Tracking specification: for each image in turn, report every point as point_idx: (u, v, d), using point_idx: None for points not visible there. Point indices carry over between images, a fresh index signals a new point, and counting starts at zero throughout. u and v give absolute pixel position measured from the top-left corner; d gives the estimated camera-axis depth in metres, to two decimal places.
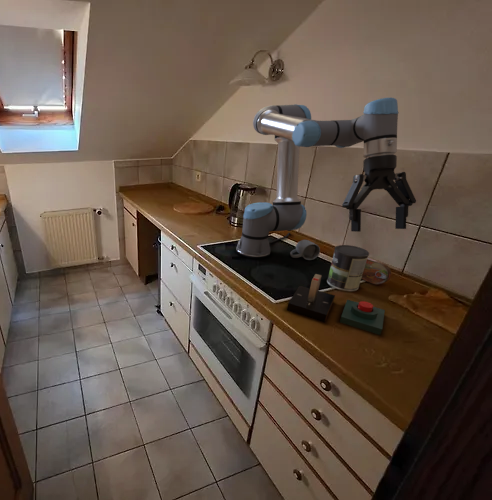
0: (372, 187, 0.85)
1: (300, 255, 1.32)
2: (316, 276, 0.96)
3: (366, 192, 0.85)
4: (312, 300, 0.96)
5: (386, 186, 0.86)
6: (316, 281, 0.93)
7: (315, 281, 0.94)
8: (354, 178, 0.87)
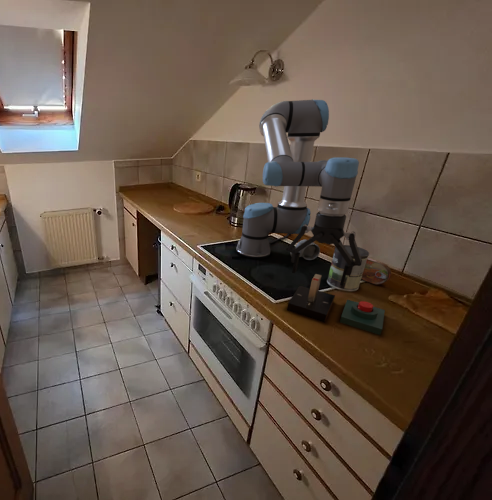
0: (311, 240, 0.91)
1: (300, 255, 1.32)
2: (316, 276, 0.96)
3: (306, 243, 0.93)
4: (312, 300, 0.96)
5: (329, 242, 0.89)
6: (316, 281, 0.93)
7: (315, 281, 0.94)
8: None
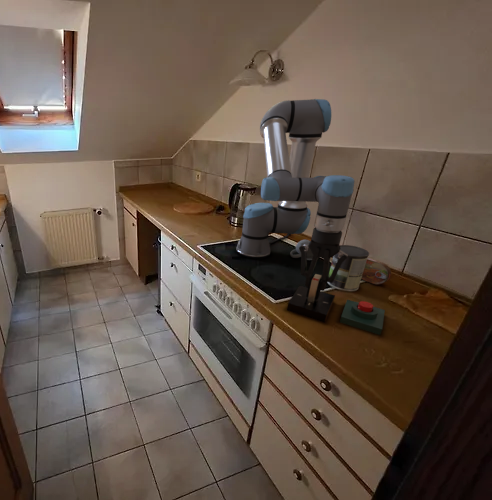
0: (314, 258, 0.92)
1: (300, 255, 1.32)
2: (316, 276, 0.96)
3: (312, 263, 0.94)
4: (312, 300, 0.96)
5: None
6: (316, 281, 0.93)
7: (315, 281, 0.94)
8: None
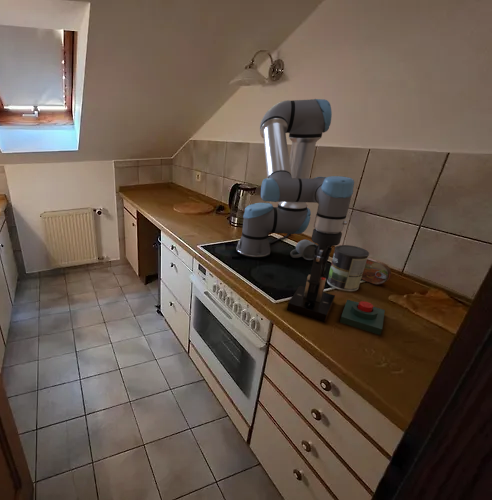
0: (326, 262, 0.90)
1: (300, 255, 1.32)
2: None
3: (322, 267, 0.91)
4: (321, 298, 0.97)
5: None
6: (325, 279, 0.94)
7: (325, 280, 0.94)
8: (314, 259, 0.88)
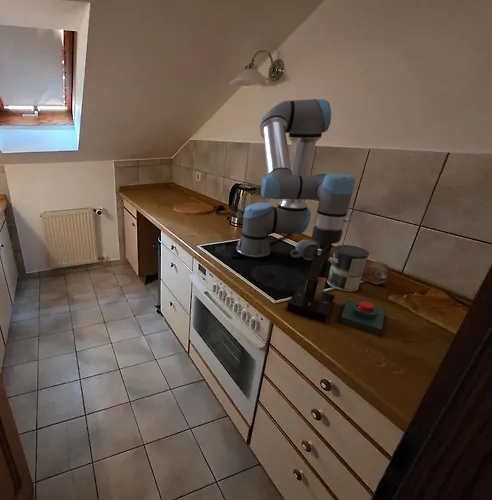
0: (325, 259, 0.89)
1: (300, 255, 1.32)
2: None
3: (322, 264, 0.89)
4: (321, 298, 0.97)
5: None
6: (325, 279, 0.94)
7: (325, 280, 0.94)
8: (316, 252, 0.87)
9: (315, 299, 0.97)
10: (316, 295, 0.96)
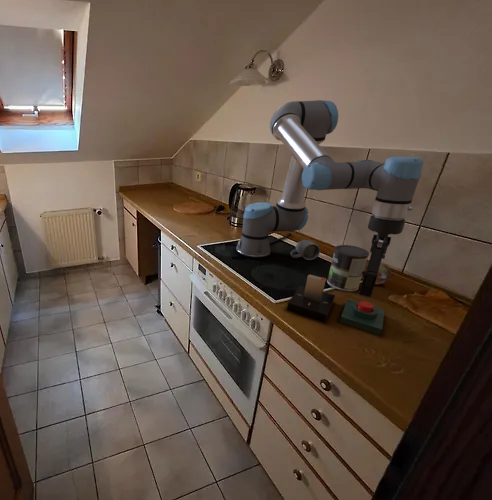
0: (385, 252, 0.80)
1: (300, 255, 1.32)
2: (314, 277, 0.96)
3: None
4: (321, 298, 0.97)
5: None
6: (325, 279, 0.94)
7: (325, 280, 0.94)
8: (376, 243, 0.78)
9: (315, 299, 0.97)
10: (316, 295, 0.96)
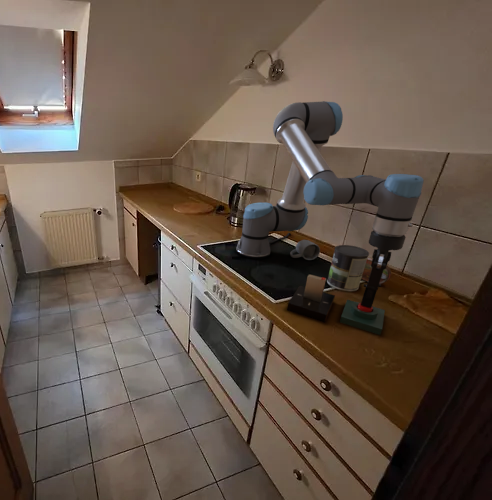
0: (385, 267, 0.83)
1: (300, 255, 1.32)
2: (314, 277, 0.96)
3: None
4: (321, 298, 0.97)
5: None
6: (325, 279, 0.94)
7: (325, 280, 0.94)
8: (375, 266, 0.81)
9: (315, 299, 0.97)
10: (316, 295, 0.96)
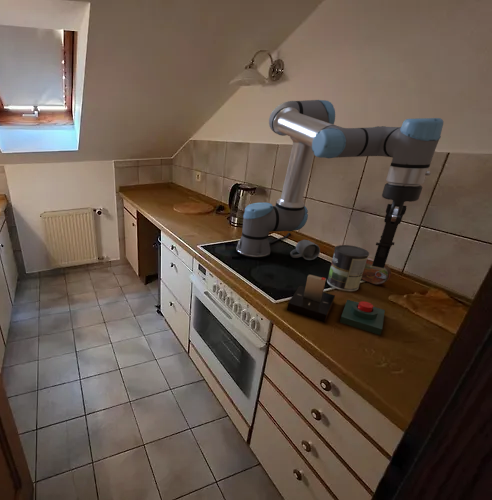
0: (400, 221, 0.78)
1: (300, 255, 1.32)
2: (314, 277, 0.96)
3: None
4: (321, 298, 0.97)
5: None
6: (325, 279, 0.94)
7: (325, 280, 0.94)
8: (389, 219, 0.76)
9: (315, 299, 0.97)
10: (316, 295, 0.96)
